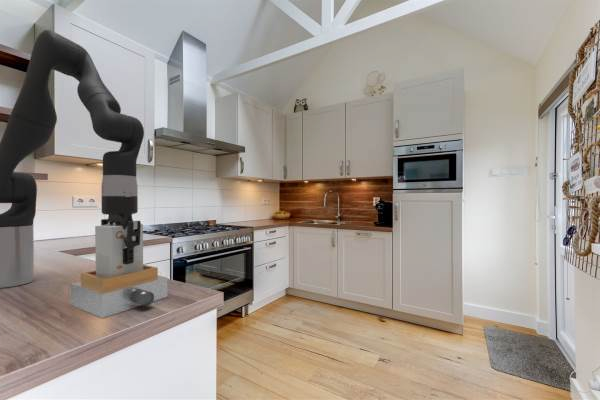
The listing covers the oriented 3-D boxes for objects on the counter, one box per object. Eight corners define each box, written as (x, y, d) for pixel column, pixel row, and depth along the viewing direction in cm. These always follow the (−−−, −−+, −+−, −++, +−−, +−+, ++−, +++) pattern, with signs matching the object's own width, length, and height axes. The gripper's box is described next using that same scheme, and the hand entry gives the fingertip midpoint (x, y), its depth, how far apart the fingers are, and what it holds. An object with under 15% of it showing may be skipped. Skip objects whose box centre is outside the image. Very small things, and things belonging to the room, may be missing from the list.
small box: (126, 272, 75) (126, 222, 75) (143, 274, 72) (143, 223, 72) (94, 280, 67) (94, 225, 67) (112, 283, 65) (112, 226, 65)
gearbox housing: (70, 304, 67) (70, 273, 67) (134, 287, 80) (134, 261, 80) (111, 322, 57) (111, 285, 57) (177, 299, 70) (177, 269, 70)
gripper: (88, 194, 70) (89, 261, 70) (119, 194, 63) (119, 268, 63) (120, 195, 76) (120, 256, 77) (151, 194, 69) (151, 262, 69)
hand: (120, 261), depth 70 cm, fingers closed on small box, 6 cm apart
